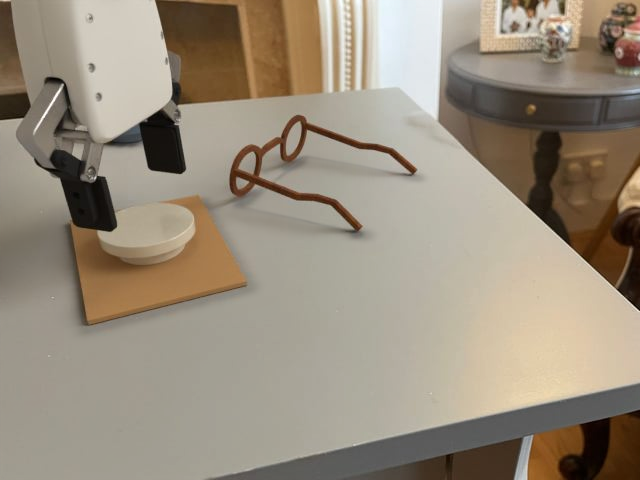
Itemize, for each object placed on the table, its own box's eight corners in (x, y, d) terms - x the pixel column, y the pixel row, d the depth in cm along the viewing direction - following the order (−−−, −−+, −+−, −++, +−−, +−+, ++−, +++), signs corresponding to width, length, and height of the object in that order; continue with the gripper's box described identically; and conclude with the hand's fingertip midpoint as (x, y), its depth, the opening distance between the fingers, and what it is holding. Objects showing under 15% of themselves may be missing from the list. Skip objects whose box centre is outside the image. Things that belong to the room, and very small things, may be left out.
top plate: (84, 265, 50) (76, 240, 48) (136, 221, 55) (130, 198, 54) (169, 277, 48) (163, 252, 47) (214, 231, 54) (209, 207, 53)
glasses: (302, 154, 68) (298, 107, 66) (417, 174, 64) (419, 125, 61) (229, 206, 59) (220, 154, 56) (360, 234, 54) (358, 179, 51)
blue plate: (84, 143, 71) (79, 123, 70) (122, 120, 77) (118, 102, 76) (143, 149, 70) (139, 129, 69) (177, 125, 76) (173, 107, 74)
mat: (70, 223, 56) (69, 219, 56) (199, 198, 60) (198, 194, 60) (88, 325, 44) (86, 320, 44) (247, 285, 48) (246, 280, 48)
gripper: (106, -73, 48) (151, 149, 57) (-91, -37, 34) (12, 247, 43) (200, -69, 46) (229, 158, 56) (35, -29, 32) (112, 263, 42)
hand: (134, 197), depth 50 cm, fingers open, 9 cm apart
